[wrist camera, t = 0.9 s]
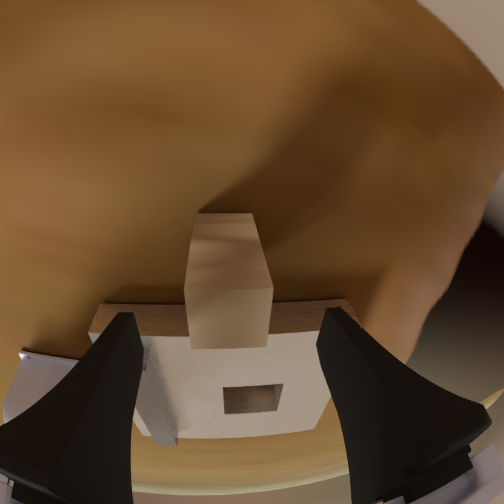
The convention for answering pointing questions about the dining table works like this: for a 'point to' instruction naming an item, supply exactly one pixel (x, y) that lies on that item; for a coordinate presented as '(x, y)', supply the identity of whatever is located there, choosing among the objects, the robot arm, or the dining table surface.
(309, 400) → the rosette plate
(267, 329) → the peg
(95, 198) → the dining table surface
